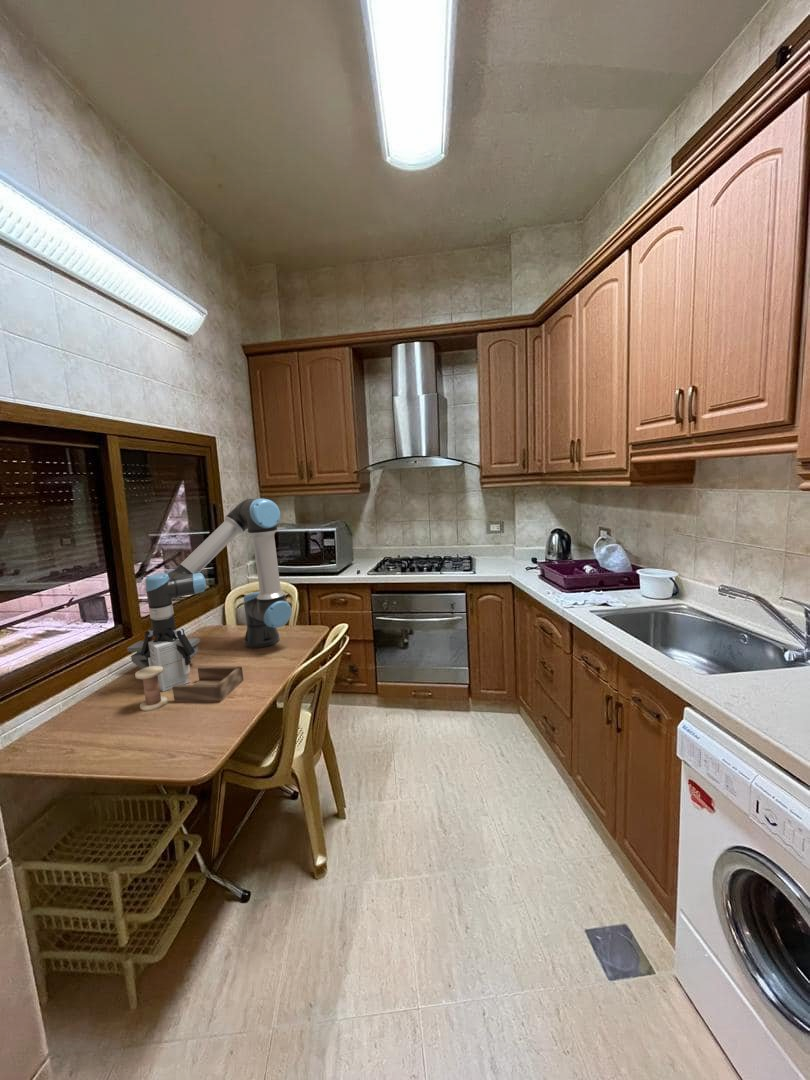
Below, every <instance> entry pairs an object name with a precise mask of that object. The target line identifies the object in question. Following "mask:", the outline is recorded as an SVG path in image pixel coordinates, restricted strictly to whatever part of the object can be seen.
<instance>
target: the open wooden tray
mask: <svg viewBox="0 0 810 1080" xmlns="http://www.w3.org/2000/svg"><path fill="white" fill-rule="evenodd" d="M197 673H198V680H197V681H196V682H195V683H193V684H184V685H174V686H173V687H172V692H173V693H172V695H173V702H174V703H221V702H222V701H223V700H225V698H227V696H228V695H230V693H232V692H233V691H234V690H235V689H236V688H237V687H238V686H239V685H240V684H242V682H243V681H244V674H243V666H199V667H197Z"/></svg>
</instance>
